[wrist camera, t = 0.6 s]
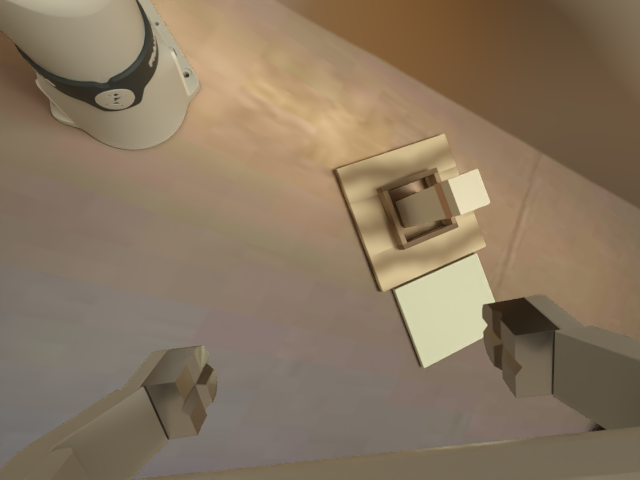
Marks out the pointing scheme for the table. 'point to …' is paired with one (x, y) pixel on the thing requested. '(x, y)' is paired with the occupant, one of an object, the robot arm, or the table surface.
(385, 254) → the wooden square socket board
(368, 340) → the table surface
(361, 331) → the table surface
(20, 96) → the table surface
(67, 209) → the table surface
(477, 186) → the banded cream pillar
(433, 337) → the pad
